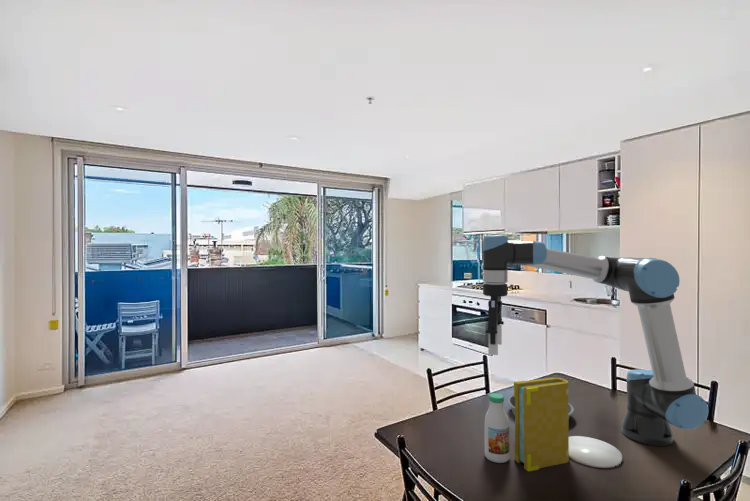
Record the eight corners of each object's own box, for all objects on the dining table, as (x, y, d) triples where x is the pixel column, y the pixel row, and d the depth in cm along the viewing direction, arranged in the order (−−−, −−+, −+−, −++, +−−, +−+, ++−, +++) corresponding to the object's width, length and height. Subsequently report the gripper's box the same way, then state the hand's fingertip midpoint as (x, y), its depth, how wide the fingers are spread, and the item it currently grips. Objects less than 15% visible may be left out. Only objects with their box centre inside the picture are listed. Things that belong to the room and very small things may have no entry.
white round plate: (616, 444, 133) (616, 441, 133) (627, 472, 117) (627, 469, 117) (558, 435, 140) (558, 432, 140) (561, 460, 124) (561, 457, 124)
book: (528, 471, 118) (527, 389, 118) (514, 459, 125) (513, 381, 124) (574, 462, 123) (573, 382, 123) (558, 451, 129) (557, 376, 129)
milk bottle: (480, 457, 126) (479, 395, 126) (492, 448, 132) (491, 389, 132) (502, 466, 121) (501, 402, 121) (513, 457, 126) (513, 395, 126)
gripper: (487, 279, 139) (487, 339, 139) (477, 286, 116) (478, 358, 116) (509, 280, 136) (510, 341, 136) (504, 287, 113) (504, 360, 113)
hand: (495, 349), depth 126 cm, fingers open, 13 cm apart
